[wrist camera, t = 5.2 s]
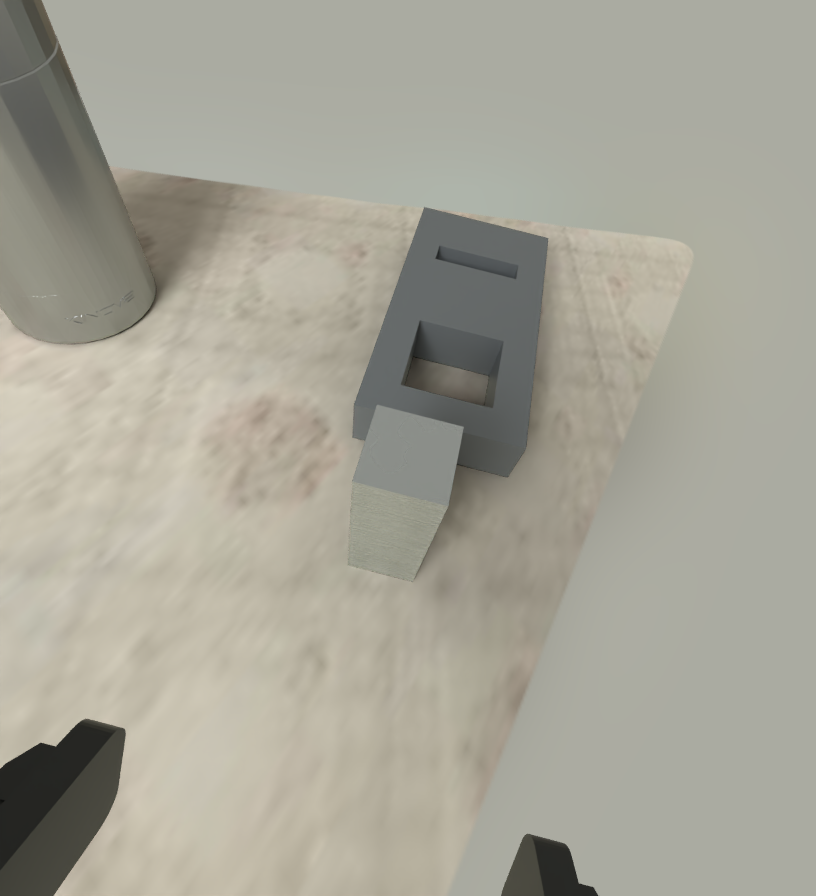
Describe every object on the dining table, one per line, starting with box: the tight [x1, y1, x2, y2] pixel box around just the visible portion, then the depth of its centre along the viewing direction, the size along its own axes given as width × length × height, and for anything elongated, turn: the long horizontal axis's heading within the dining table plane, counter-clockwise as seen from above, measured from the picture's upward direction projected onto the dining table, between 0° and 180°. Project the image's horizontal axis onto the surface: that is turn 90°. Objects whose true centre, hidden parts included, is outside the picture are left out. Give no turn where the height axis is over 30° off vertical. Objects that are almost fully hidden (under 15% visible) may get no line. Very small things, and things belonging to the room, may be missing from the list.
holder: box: [353, 207, 548, 477], centre depth 34 cm, size 20×10×4 cm, turn 167°
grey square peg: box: [348, 405, 464, 582], centre depth 23 cm, size 4×4×10 cm
